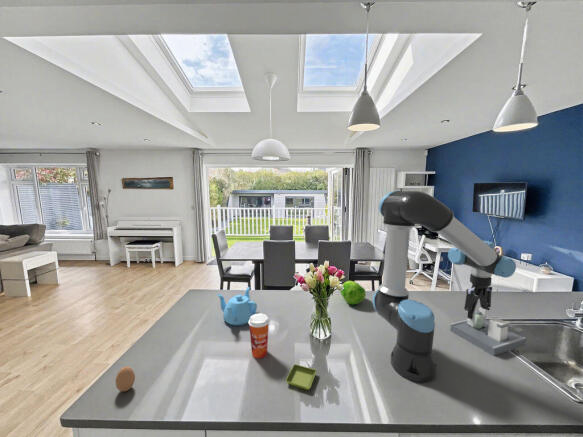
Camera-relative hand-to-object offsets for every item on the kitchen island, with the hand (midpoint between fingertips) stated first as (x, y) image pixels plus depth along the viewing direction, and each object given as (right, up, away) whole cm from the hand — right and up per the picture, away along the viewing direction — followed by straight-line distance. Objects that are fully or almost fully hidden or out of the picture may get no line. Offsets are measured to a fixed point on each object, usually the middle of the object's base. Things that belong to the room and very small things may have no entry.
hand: (476, 323), depth 110 cm
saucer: (-81, -8, -27) cm, 86 cm away
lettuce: (-49, -1, +32) cm, 59 cm away
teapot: (-112, -3, +13) cm, 113 cm away
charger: (+3, -5, -8) cm, 10 cm away
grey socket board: (+2, -5, -4) cm, 6 cm away
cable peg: (0, -4, 0) cm, 4 cm away
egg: (-139, -8, -31) cm, 143 cm away
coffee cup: (-98, -6, -14) cm, 99 cm away
